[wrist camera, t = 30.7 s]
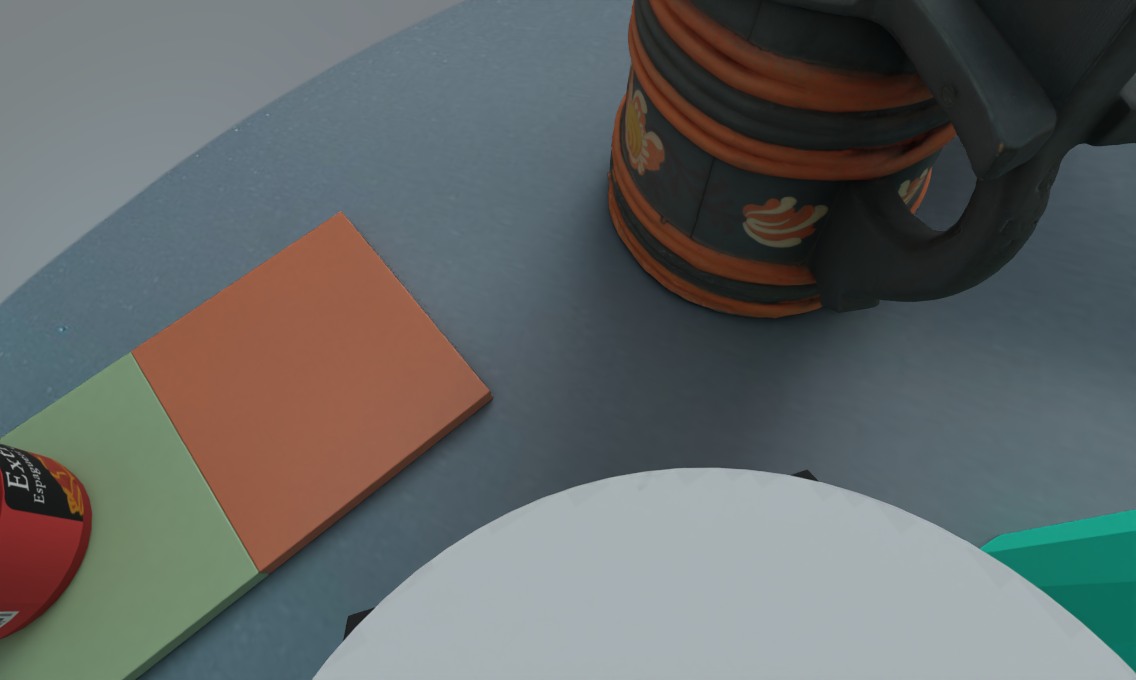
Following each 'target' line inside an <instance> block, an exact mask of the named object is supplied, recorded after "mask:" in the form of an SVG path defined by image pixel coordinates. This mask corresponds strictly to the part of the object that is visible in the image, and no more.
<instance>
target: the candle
mask: <svg viewBox="0 0 1136 680" xmlns="http://www.w3.org/2000/svg"><path fill="white" fill-rule="evenodd" d="M979 549H980V550H982V551H983V552H985V553H987V554H988V555H990V556H992V557H993V558H995V559H996V560H998V561H1000V562H1001V563H1003V564H1004V565H1006V566H1008V567H1009V568H1011V569H1012V570H1013V571H1015V572H1016V573H1018V574H1019V575H1020V576H1022V577H1023V578H1025V579H1026V580H1028V581H1029V582H1030V583H1032V584H1033V585H1035V586H1036V587H1037V588H1039V589H1040V590H1042V591H1043V592H1044V593H1046V594H1047V595H1048V596H1050V597H1051V598H1052V599H1053V600H1054V601H1056V602H1057V603H1058V604H1059V605H1061V606H1062V607H1063V608H1064V609H1066V610H1067V611H1068V612H1069V613H1071V614H1072V615H1073V616H1074V617H1076V618H1077V619H1078V620H1079V621H1081V622H1082V623H1083V624H1084V625H1085V626H1086V627H1087V628H1089V629H1090V630H1091V631H1092V632H1093V633H1094V634H1095V635H1096V636H1097V637H1098V638H1100V639H1101V640H1102V641H1103V642H1104V643H1105V644H1106V645H1107V646H1108V647H1110V648H1111V649H1112V650H1113V651H1114V652H1115V653H1116V654H1117V655H1118V656H1119V657H1120V658H1121V659H1122V660H1123V661H1124V662H1125V663H1126V664H1127V665H1128V666H1129V667H1130V668H1131V669H1132V670H1133V671H1134V672H1135V673H1136V509H1135V510H1130V511H1125V512H1119V513H1114V514H1109V515H1104V516H1098V517H1093V518H1088V519H1082V520H1077V521H1072V522H1066V523H1061V524H1056V525H1051V526H1045V527H1040V528H1035V529H1029V530H1024V531H1019V532H1013V533H1008V534H1003V535H999V536H997V537H996V538H994V539H993V540H991V541H990V542H988V543H987V544H985V545H984V546H982V547H981V548H979Z"/></svg>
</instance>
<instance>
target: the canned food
mask: <svg viewBox="0 0 1136 680" xmlns="http://www.w3.org/2000/svg"><path fill="white" fill-rule="evenodd" d="M91 529H92V510H91V505H90V499H89V496H88V494H87V492H86V490H85V488H84V485H83V484H82V483H81V482H80V481H79V480H78V478H77V477H76V476H75V475H74V474H73V473H72V472H70V471H69V470H68V469H67V468H66V467H64V466H63V465H61V464H60V463H58V462H57V461H55V460H54V459H51V458H48V457H45V456H42V455H39V454H36V453H32V452H28V451H25V450H21V449H18V448H14V447H11V446H7V445H4V444H0V639H3V638H6V637H8V636H10V635H11V634H13V633H15V632H17V631H19V630H21V629H23V628H25V627H26V626H27V625H29V624H30V623H32V622H33V621H34V620H36V619H37V618H38V617H40V616H41V615H42V614H43V613H44V612H45V611H46V610H47V609H48V608H49V607H50V606H51V605H52V604H53V603H55V602H56V601H57V599H58V598H59V597H60V596H61V594H62V593H63V592H64V590H65V589H66V588H67V587H68V585H69V584H70V583H71V581H72V579H73V577H74V576H75V574H76V572H77V570H78V569H79V567H80V565H81V563H82V560H83V558H84V555H85V553H86V550H87V548H88V543H89V539H90V534H91Z"/></svg>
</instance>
